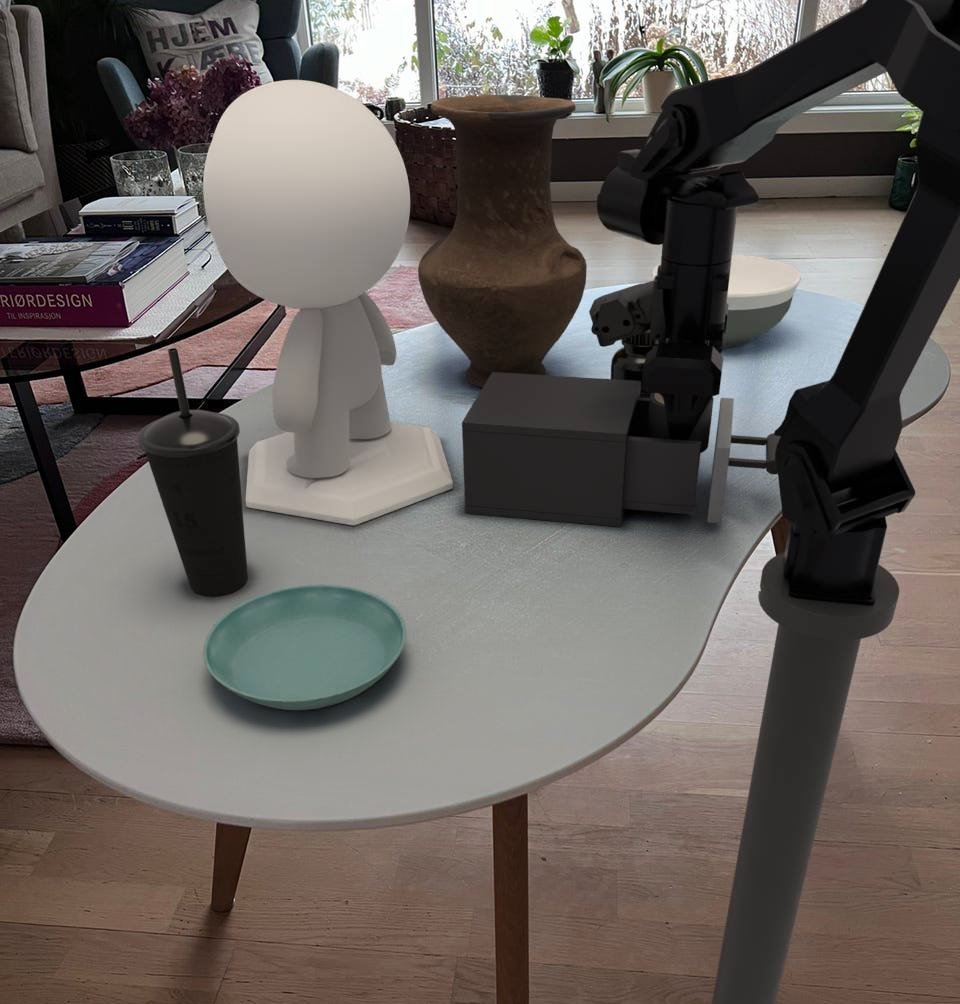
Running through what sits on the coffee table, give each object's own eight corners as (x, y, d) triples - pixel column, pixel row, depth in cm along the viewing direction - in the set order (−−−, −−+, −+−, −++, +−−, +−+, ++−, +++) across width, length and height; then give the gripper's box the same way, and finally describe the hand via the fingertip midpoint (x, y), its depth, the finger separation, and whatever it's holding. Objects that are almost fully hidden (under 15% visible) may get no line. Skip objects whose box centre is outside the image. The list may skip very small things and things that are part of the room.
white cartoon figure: (297, 421, 114) (250, 65, 94) (489, 448, 107) (481, 69, 87) (195, 499, 99) (113, 94, 79) (410, 536, 92) (380, 101, 72)
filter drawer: (774, 472, 99) (785, 401, 95) (775, 528, 90) (787, 452, 86) (588, 458, 103) (590, 389, 98) (570, 510, 94) (573, 436, 89)
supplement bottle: (679, 429, 110) (690, 318, 103) (661, 454, 105) (671, 339, 98) (619, 420, 113) (625, 311, 106) (598, 444, 108) (603, 331, 101)
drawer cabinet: (635, 467, 103) (641, 380, 98) (620, 527, 93) (626, 433, 88) (493, 457, 106) (492, 371, 100) (464, 513, 96) (461, 422, 90)
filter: (709, 434, 95) (715, 386, 93) (706, 459, 91) (712, 409, 88) (649, 429, 96) (653, 382, 94) (643, 454, 92) (647, 405, 89)
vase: (615, 381, 122) (631, 100, 105) (482, 420, 113) (475, 121, 96) (520, 339, 135) (520, 84, 118) (395, 371, 127) (375, 101, 109)
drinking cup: (186, 558, 90) (137, 333, 78) (272, 558, 90) (235, 332, 78) (161, 605, 84) (104, 368, 72) (253, 605, 83) (211, 367, 72)
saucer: (188, 731, 70) (181, 701, 69) (230, 613, 82) (225, 585, 81) (402, 727, 70) (399, 697, 69) (413, 609, 82) (411, 581, 81)
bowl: (632, 318, 142) (636, 257, 137) (763, 310, 143) (771, 249, 138) (667, 365, 126) (673, 298, 122) (813, 356, 128) (825, 289, 123)
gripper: (612, 226, 93) (604, 390, 102) (582, 285, 78) (576, 470, 87) (737, 230, 91) (717, 397, 100) (731, 291, 76) (709, 481, 85)
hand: (679, 433), depth 93 cm, fingers closed on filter, 6 cm apart
